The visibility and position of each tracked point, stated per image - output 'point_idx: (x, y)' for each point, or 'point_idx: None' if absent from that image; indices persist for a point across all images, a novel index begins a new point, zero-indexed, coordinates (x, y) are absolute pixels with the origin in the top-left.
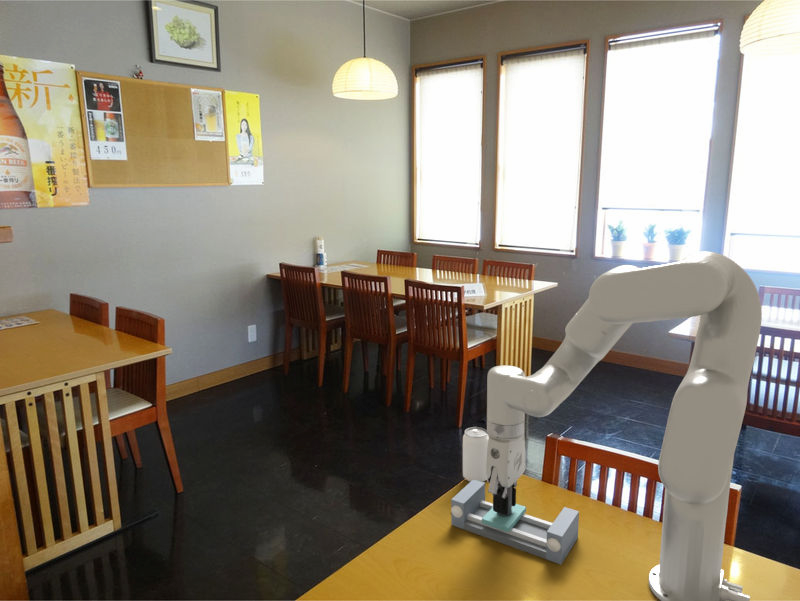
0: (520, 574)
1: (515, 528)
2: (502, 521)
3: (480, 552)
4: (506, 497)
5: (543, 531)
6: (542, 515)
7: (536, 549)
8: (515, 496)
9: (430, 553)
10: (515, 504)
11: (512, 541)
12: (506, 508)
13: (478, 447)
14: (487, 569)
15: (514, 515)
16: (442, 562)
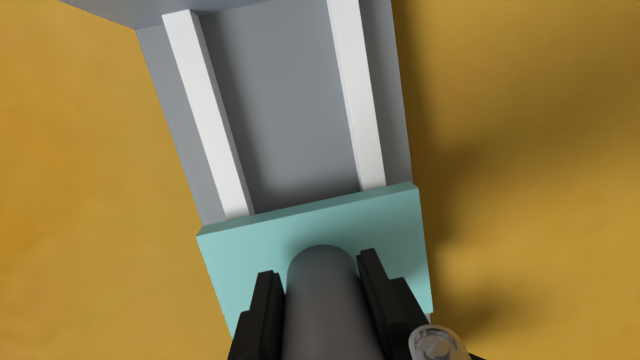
0: (528, 16)
1: (327, 191)
2: (391, 239)
3: (498, 207)
4: (407, 328)
5: (252, 85)
6: (120, 184)
7: (392, 30)
8: (257, 307)
9: (592, 308)
10: (261, 273)
11: (407, 148)
12: (383, 271)
13: None
14: (568, 130)
15: (306, 231)
16: (612, 257)
